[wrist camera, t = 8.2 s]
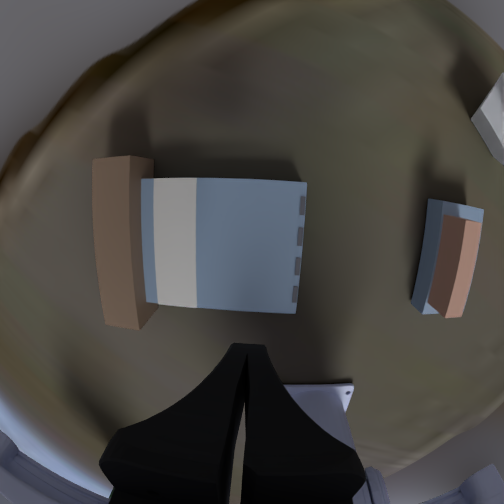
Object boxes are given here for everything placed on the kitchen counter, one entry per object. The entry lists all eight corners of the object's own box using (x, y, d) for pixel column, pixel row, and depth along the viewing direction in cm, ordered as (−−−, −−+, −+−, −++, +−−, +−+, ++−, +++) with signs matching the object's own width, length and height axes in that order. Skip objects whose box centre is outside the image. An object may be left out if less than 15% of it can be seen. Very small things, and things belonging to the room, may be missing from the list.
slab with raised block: (450, 302, 20) (480, 325, 15) (410, 303, 20) (439, 330, 16) (468, 206, 18) (505, 214, 13) (428, 198, 18) (465, 204, 13)
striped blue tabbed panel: (290, 317, 21) (295, 344, 18) (127, 303, 22) (105, 324, 18) (303, 161, 18) (312, 156, 15) (120, 161, 19) (92, 159, 15)
